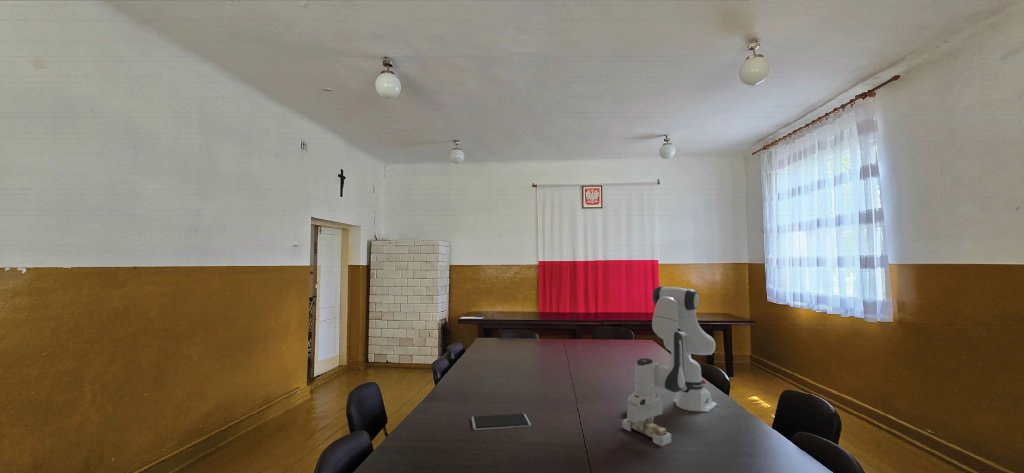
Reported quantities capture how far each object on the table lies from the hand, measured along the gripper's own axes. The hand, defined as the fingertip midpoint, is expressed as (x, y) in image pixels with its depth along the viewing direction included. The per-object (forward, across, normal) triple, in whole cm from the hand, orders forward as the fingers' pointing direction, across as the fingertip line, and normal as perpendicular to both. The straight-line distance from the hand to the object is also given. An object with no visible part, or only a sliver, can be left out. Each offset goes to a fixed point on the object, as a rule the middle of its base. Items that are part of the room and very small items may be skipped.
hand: (645, 428), depth 171 cm
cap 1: (+3, 0, -9) cm, 9 cm away
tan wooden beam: (+2, 0, 0) cm, 2 cm away
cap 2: (+3, 0, +9) cm, 9 cm away
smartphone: (+4, +48, -46) cm, 67 cm away
